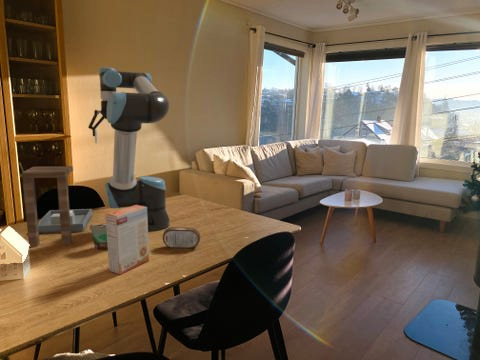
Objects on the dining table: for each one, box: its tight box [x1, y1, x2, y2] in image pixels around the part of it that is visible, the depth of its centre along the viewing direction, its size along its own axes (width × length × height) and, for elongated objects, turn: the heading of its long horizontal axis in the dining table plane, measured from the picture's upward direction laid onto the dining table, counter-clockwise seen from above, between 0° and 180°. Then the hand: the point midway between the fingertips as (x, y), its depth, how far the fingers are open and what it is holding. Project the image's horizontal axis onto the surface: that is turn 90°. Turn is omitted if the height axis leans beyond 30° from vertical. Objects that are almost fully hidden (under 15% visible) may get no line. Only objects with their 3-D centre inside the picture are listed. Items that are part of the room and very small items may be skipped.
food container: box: [89, 222, 108, 251], centre depth 142 cm, size 12×6×10 cm, turn 117°
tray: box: [38, 208, 93, 234], centre depth 169 cm, size 24×20×4 cm
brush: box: [51, 209, 75, 225], centre depth 169 cm, size 16×9×5 cm, turn 13°
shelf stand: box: [21, 165, 74, 248], centre depth 146 cm, size 14×15×30 cm
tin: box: [162, 226, 201, 249], centre depth 145 cm, size 15×3×8 cm, turn 92°
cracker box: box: [105, 205, 150, 276], centre depth 126 cm, size 14×6×21 cm, turn 150°
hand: (110, 143), depth 182 cm, fingers open, 13 cm apart
